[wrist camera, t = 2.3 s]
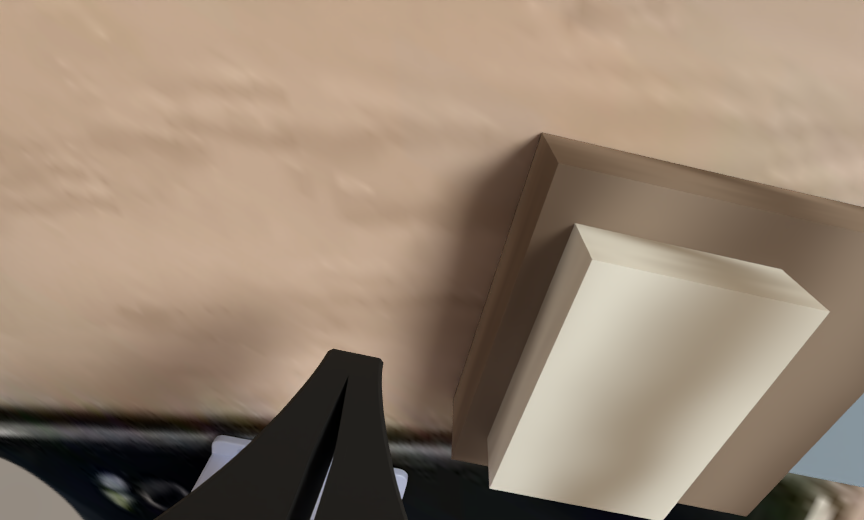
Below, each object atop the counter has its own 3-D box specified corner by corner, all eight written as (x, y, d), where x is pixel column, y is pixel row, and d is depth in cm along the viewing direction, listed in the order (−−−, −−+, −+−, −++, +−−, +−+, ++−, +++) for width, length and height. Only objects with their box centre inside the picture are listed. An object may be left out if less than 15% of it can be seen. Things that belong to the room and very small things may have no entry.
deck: (453, 399, 21) (451, 458, 18) (542, 132, 15) (558, 163, 12) (711, 451, 21) (746, 516, 19) (899, 215, 15) (988, 261, 13)
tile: (487, 438, 17) (489, 488, 15) (575, 223, 13) (592, 259, 11) (642, 469, 18) (661, 521, 16) (781, 269, 13) (830, 312, 11)
